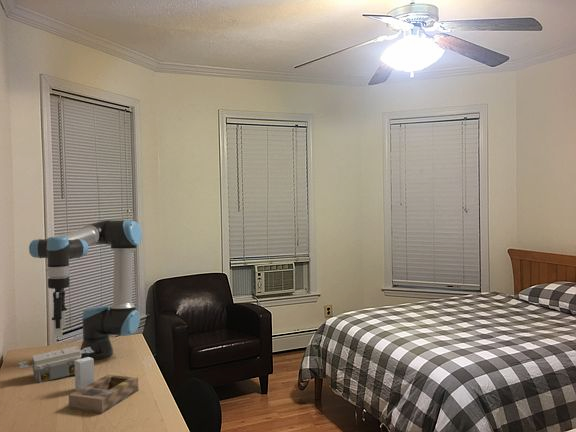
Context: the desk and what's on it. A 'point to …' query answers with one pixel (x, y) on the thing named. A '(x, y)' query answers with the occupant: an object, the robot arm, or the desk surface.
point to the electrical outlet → (55, 363)
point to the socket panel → (103, 393)
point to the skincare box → (84, 372)
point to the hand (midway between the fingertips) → (59, 332)
